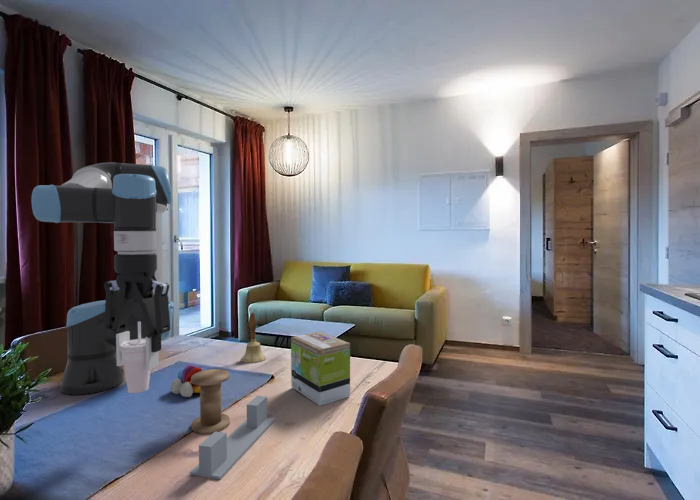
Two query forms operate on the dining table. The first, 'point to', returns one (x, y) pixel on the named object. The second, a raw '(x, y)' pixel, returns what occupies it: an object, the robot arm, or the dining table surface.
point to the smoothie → (135, 363)
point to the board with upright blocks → (232, 442)
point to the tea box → (320, 367)
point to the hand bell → (253, 345)
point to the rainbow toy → (186, 382)
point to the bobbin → (210, 401)
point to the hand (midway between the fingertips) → (137, 365)
